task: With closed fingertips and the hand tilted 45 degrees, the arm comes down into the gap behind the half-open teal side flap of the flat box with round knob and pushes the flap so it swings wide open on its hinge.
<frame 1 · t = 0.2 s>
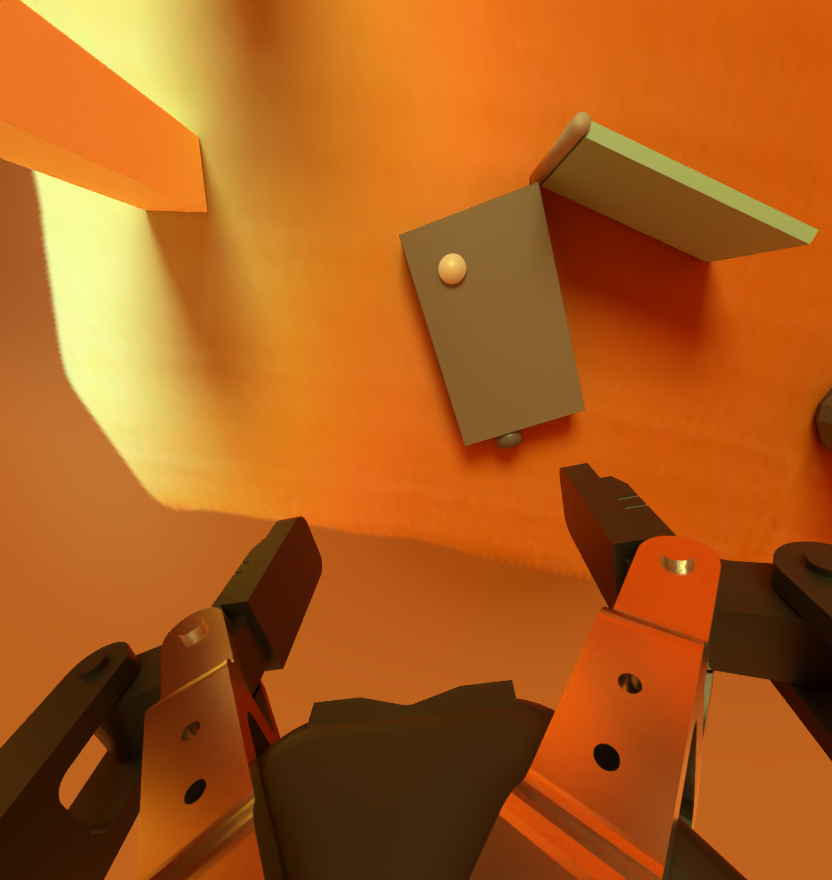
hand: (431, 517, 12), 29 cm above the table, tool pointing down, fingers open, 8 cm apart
door: (653, 202, 30), point 5 cm above the table, hinge at 50.0°
box with round knob: (491, 326, 38), on the table
milk: (172, 175, 35), on the table
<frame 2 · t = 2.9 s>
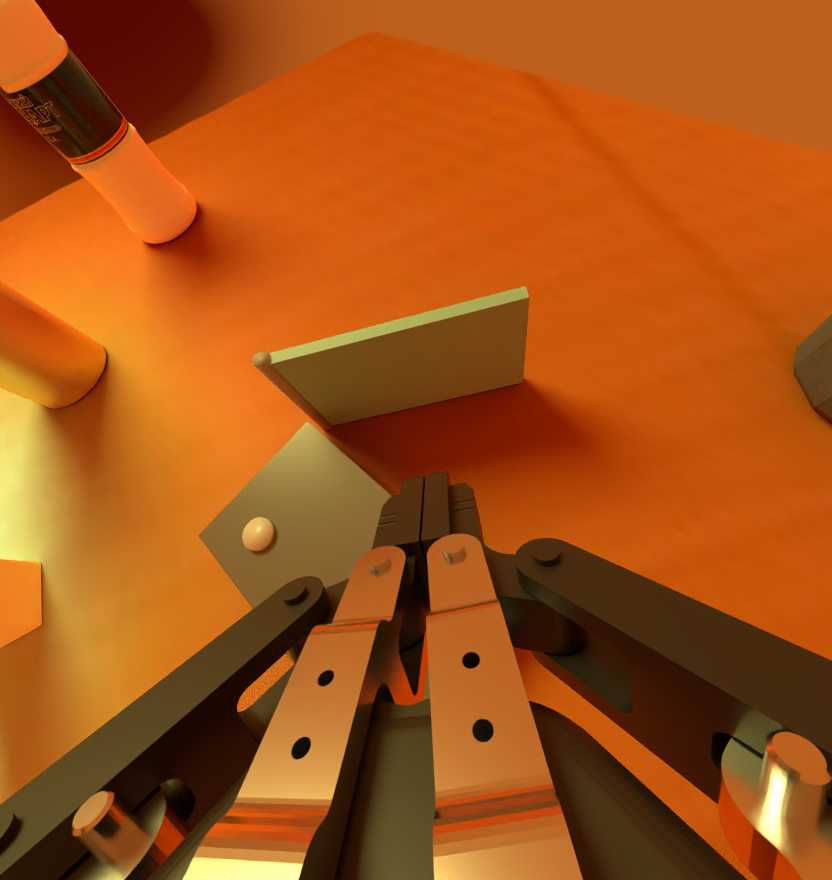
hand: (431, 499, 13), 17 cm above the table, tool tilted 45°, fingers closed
door: (402, 371, 29), point 5 cm above the table, hinge at 50.0°
box with round knob: (353, 567, 29), on the table
vodka: (172, 223, 53), on the table
milk: (16, 608, 35), on the table
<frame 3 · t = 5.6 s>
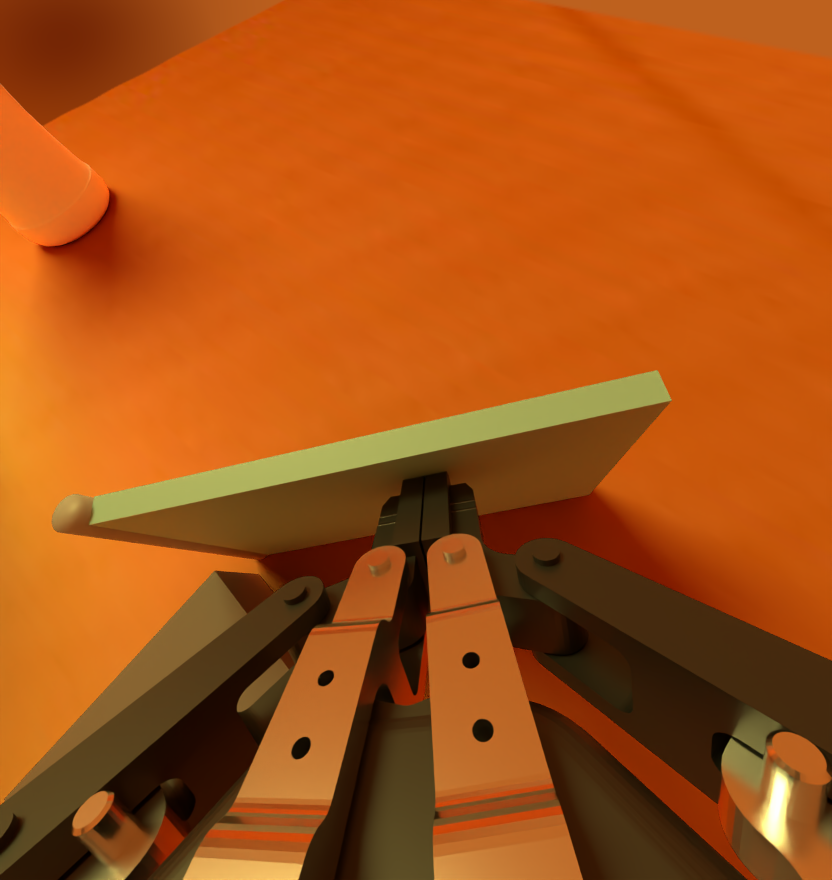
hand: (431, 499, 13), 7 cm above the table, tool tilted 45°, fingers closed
door: (379, 498, 15), point 5 cm above the table, hinge at 50.3°, touching gripper
box with round knob: (291, 853, 16), on the table
vodka: (77, 218, 39), on the table
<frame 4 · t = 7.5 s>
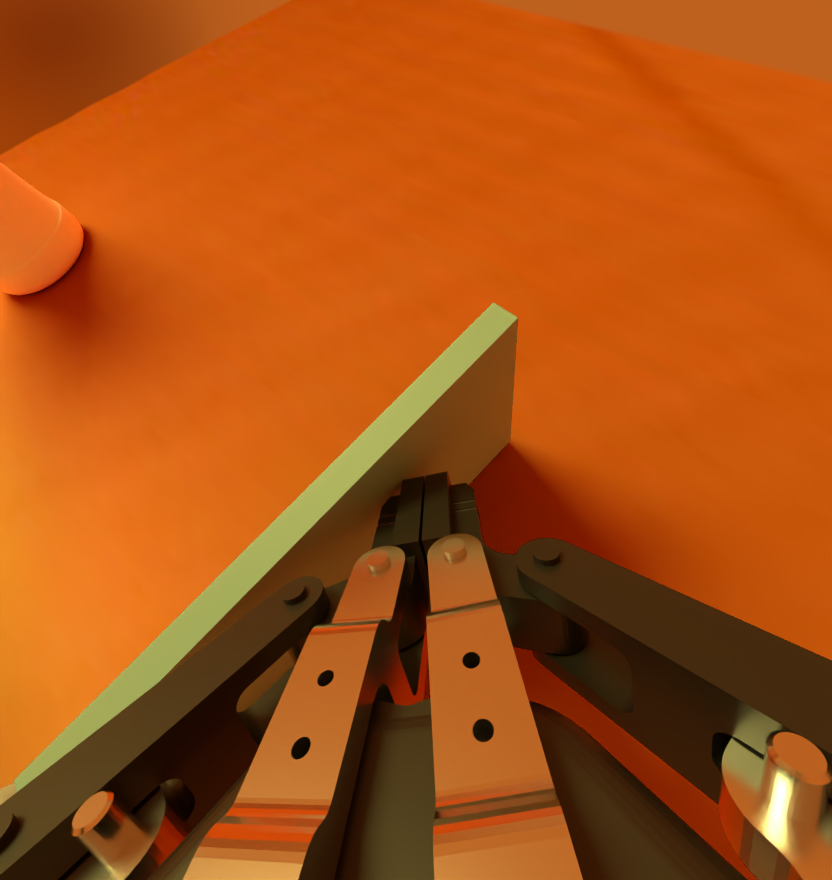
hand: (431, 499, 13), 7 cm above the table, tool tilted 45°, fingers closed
door: (342, 559, 14), point 5 cm above the table, hinge at 86.2°, touching gripper
vodka: (49, 261, 35), on the table
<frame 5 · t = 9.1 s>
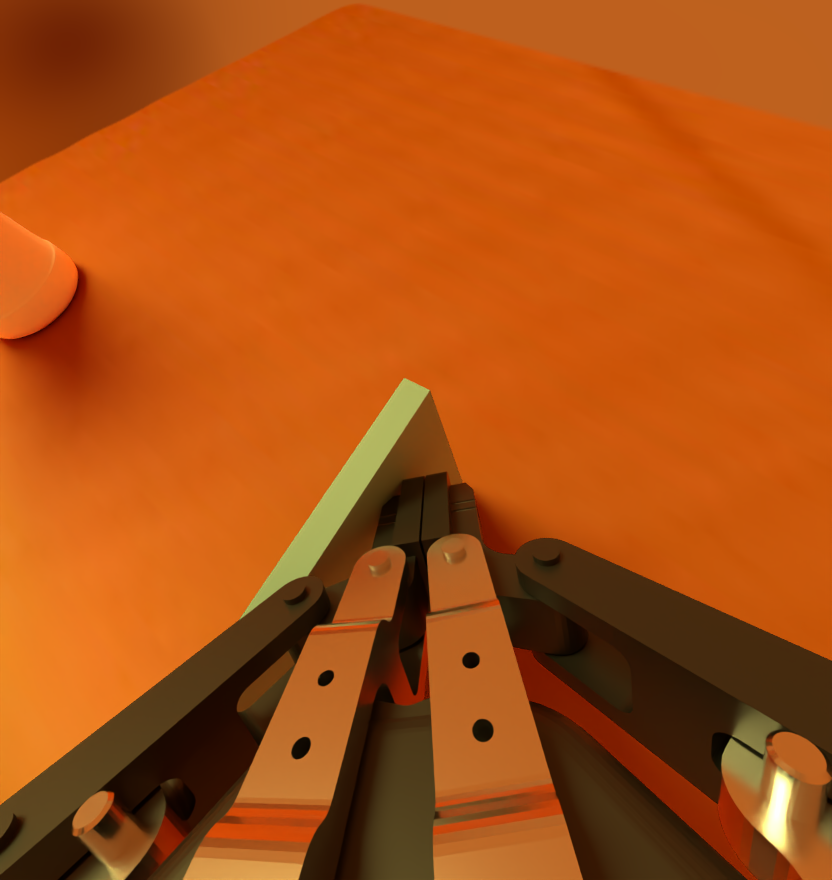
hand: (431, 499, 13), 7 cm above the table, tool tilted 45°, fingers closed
door: (309, 654, 14), point 5 cm above the table, hinge at 98.9°, touching gripper
vodka: (42, 301, 34), on the table
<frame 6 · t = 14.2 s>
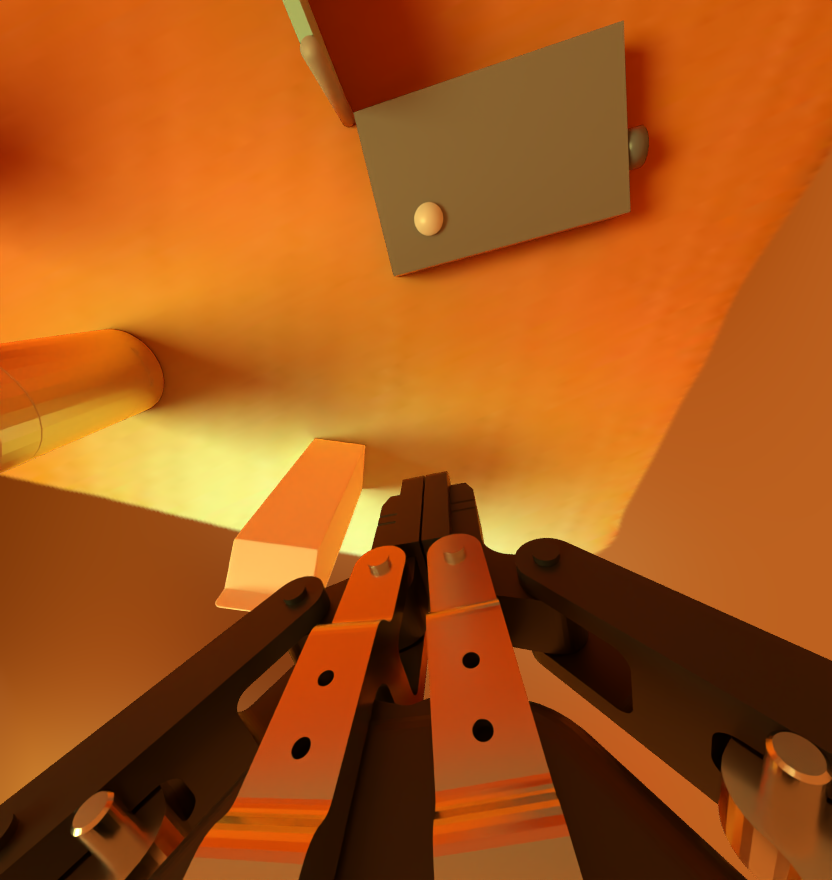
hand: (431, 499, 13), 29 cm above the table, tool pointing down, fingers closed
box with round knob: (489, 174, 34), on the table
milk: (339, 463, 45), on the table
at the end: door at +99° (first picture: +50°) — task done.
